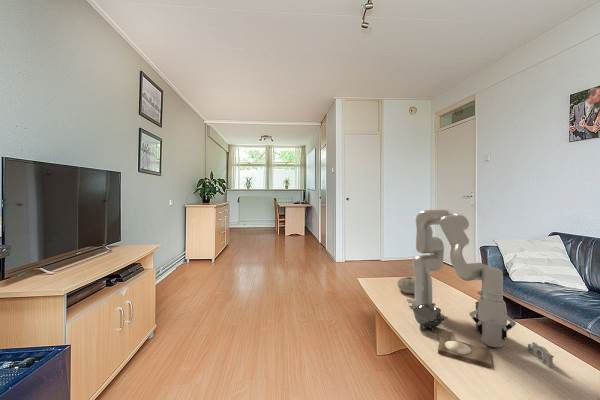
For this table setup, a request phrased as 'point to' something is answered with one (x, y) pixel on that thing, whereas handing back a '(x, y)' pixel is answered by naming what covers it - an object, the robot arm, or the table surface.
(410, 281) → the decorative shell
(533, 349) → the lattice window wall
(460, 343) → the board
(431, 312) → the piggy bank
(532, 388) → the table surface
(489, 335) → the can
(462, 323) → the table surface
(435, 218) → the robot arm
